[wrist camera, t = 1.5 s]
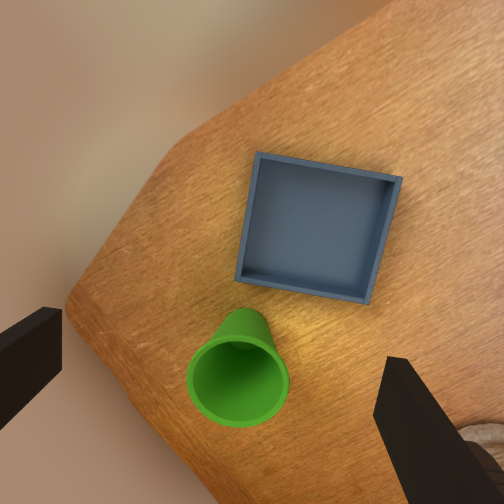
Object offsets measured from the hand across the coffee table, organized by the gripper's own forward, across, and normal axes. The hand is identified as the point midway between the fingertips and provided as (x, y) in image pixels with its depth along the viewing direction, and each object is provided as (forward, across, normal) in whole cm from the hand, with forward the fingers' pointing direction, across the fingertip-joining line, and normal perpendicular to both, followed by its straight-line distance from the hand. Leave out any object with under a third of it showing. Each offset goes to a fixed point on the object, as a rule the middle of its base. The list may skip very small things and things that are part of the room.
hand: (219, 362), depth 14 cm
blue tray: (+25, +6, +2) cm, 26 cm away
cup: (+26, +1, -11) cm, 28 cm away
